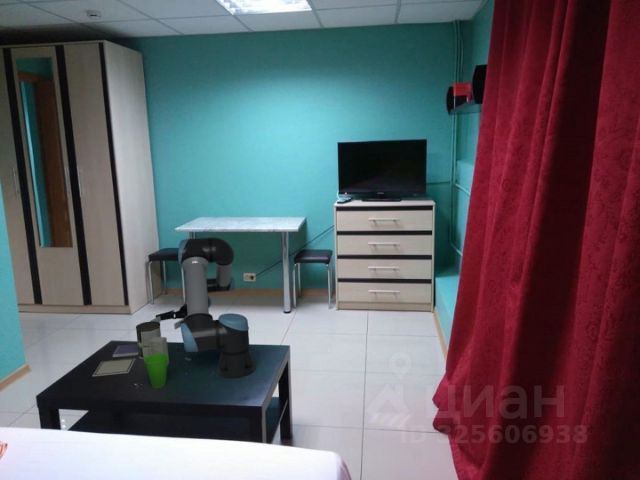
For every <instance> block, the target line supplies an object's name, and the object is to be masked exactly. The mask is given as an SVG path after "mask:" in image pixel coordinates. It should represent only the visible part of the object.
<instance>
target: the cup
mask: <svg viewBox="0 0 640 480" xmlns="http://www.w3.org/2000/svg"><path fill="white" fill-rule="evenodd" d="M168 355H169V354H168ZM168 355H167V354H153V355H150V356H148V357H146V358H145V359H143V362H144V363H145V367H146V371H147V374H148V379H149V381H150V384H151V386H152V388H154V389H156V388H157V389H158V388H163V387H164V386H165V385H166V383H167V371H168V370H167V369H168V365H167V361H168V358H169V359H170V357H169V356H168Z"/></svg>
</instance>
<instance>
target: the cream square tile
mask: <svg viewBox="0 0 640 480" xmlns="http://www.w3.org/2000/svg"><path fill="white" fill-rule="evenodd" d="M135 360H136V358H135V357H134V358H123V359H113V360H104V361H102V360H101V362H100V363H99V365H98V366H97V368H96V370H95V372H94V373H93V374H92V377H101V376H110V375H119V374H128V373H129V372H130V371H131V369H132V367H133V364H134V363H135Z"/></svg>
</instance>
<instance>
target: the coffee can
mask: <svg viewBox="0 0 640 480" xmlns="http://www.w3.org/2000/svg"><path fill="white" fill-rule="evenodd" d="M135 330H136V340H137V344H138V352H139V355H138V358H139V359H141V360H144V359H145V358H146V357H148V356H150V347H149V340H150V339H152V338H153V337H162V334H161V333H162V332H161V322H160V323H159V322H155V321H151V320H149V321H144V322H141V323H139V324H137V325H136V326H135Z"/></svg>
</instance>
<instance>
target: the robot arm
mask: <svg viewBox="0 0 640 480" xmlns="http://www.w3.org/2000/svg"><path fill="white" fill-rule="evenodd" d="M177 251H178V252H177V253H178V256H177V262H178V265H179V266H181V268H182V269H183V270H184V271H185V282H186V283H185V285H186V286H185V287H186V304H183V305H181V306H180V307H179V309H178V310H176V311H175V310H174V309H171V310H169V311H165V312H162V313H158V314H155V318H153V319H151V320H150V321H155V322H159V323H160V324H161V321H167V320H177V319H179V320H178V321H176V322H175V323H173V326H174V327H173V328H174V330H177V329H179V328H180V331H181V337H182V342H183V343H182V344H183V348H184V351H186V352H187V353H197V352H204V351H210V350H220V357H219V360H218V363H217V373H218V375H219V376H221V377H224V378H228V379H229V378H230V379H232V378H233V379H237V378H241V377H246V376H248V375H251V374H252V373H253V372H254V371H255V368H256V367H255V366H256V365H255V364H256V363H255V360H254V358H253V355H252V353H251V349H250V336H249V335H250V333H249V330H250V327H249V322H248V321H249V320H248V319H247V317H246V316H245V315H243V314H242V315H241V314H239V313H232V312H231V313H224V314H220V315H219V316H218V318H217V319H214V316H213V315H212V314H210V311H209V310H210V309H209V308H210V307H211V306H212V300H211V298H210V297H209V296H208V294H210V293H211V294H212V293H222V292H223V293H224V292H231V291H234V290H235V286H236V285H235V284H236V283H235V277H234V276H232V265H233V264H232V263H233V262H234V260H235V252H234V249H233V247H232V246H231V244H230V243H228V242H227V241H226V240H224V238H223V239H222V238H220V237H215V236H212V237H200V238H185V239H181V240H180V241H179V244H178V250H177ZM210 263H211V264H214V263H215V277H213V278H212V277H211V278H207V273H206V272H207V271H206V270H207V269H208V268H209V265H210Z"/></svg>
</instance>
